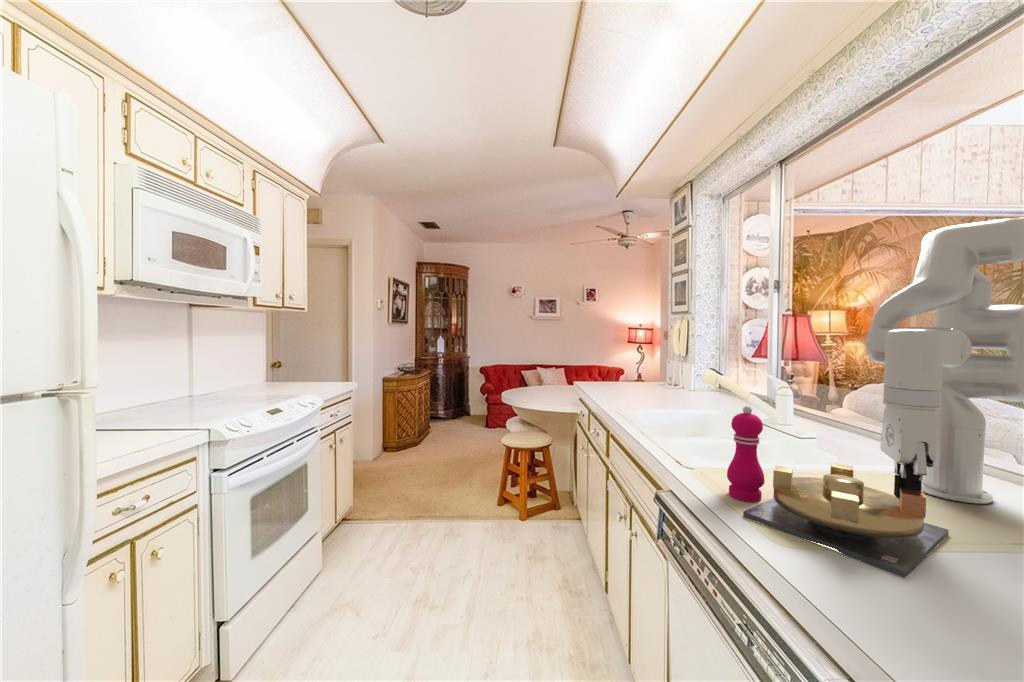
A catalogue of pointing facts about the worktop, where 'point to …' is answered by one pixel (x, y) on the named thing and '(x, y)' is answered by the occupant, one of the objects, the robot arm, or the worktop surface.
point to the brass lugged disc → (850, 503)
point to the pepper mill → (746, 458)
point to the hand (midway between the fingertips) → (907, 498)
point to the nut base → (854, 539)
